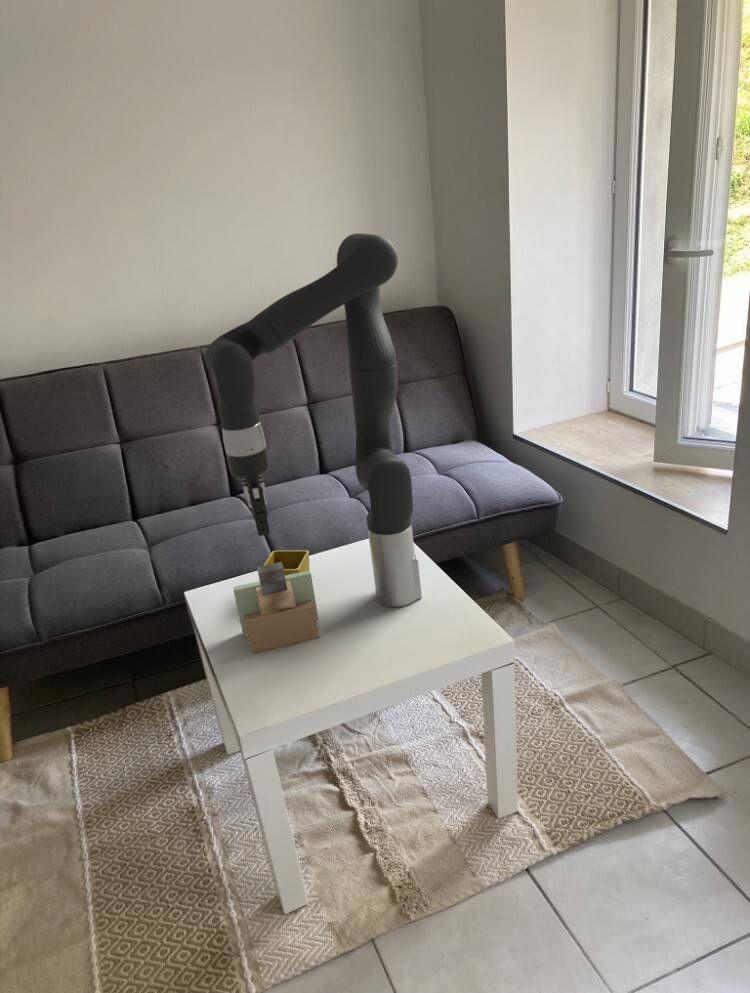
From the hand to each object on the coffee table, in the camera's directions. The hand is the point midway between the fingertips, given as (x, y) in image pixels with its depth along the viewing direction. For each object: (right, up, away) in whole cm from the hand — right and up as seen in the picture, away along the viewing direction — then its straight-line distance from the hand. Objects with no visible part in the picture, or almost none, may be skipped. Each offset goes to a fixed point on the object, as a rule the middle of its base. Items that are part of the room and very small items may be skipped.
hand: (261, 525), depth 152 cm
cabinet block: (+2, -18, +8) cm, 20 cm away
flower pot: (+3, -17, +25) cm, 30 cm away
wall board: (+3, -23, +10) cm, 25 cm away
